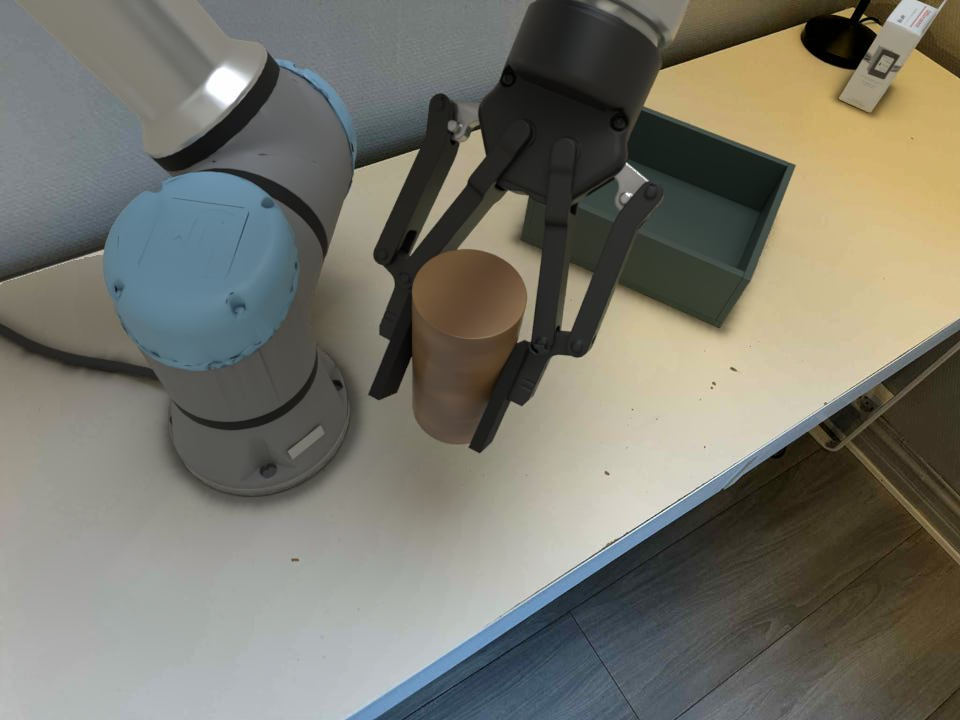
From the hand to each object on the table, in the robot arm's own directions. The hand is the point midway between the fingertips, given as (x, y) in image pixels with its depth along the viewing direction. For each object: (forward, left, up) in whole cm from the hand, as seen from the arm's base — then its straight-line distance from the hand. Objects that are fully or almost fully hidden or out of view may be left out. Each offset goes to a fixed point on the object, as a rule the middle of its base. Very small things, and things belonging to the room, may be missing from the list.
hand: (431, 418), depth 39 cm
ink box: (+22, +87, -20) cm, 92 cm away
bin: (+4, +44, -19) cm, 48 cm away
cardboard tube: (0, +4, -4) cm, 5 cm away
